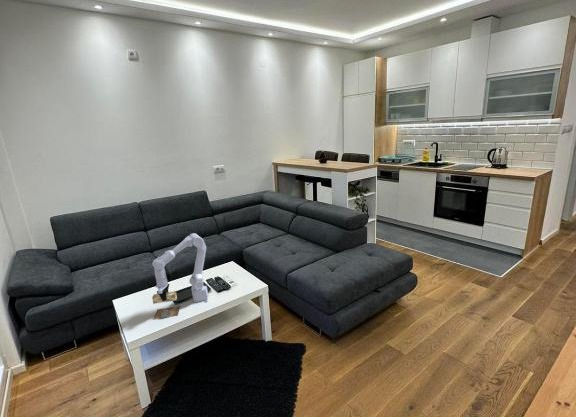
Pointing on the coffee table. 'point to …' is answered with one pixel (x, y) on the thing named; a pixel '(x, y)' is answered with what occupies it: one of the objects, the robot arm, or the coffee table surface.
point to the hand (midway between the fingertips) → (165, 298)
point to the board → (173, 311)
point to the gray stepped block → (165, 314)
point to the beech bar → (169, 297)
